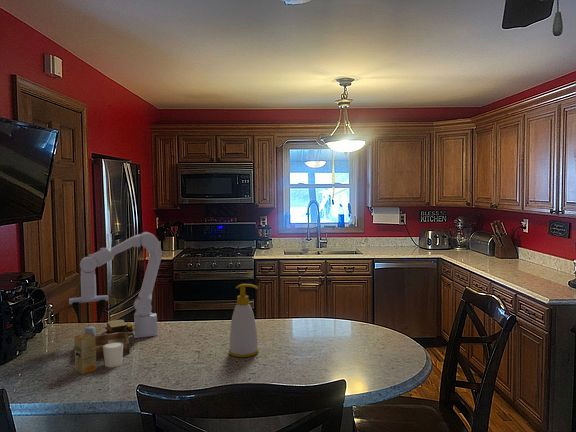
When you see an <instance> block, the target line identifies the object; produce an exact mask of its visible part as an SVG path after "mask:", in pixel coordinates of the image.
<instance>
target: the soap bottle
mask: <svg viewBox="0 0 576 432" xmlns="http://www.w3.org/2000/svg"><path fill="white" fill-rule="evenodd" d="M246 287H247V288H248V287H250V288H254V289H255V290H258V289H259V287H258V286H257V285H256V284H253V283H240V284H238V285H237V286H235V289H239V295H237V297H236V298H237V299H236V305H235V307H234V309H233V312H232V317H231V323H230V324H231V325H230V330H229V331H230V333H229V350H228V354H229V355H230V356H232V357H236V358H249V357H252V356H255V355H257V354H258V353H259V348H258V334H257V325H256V319H255V315H254V311H253V309H252V305H250V300H249V295H247V294H246Z"/></svg>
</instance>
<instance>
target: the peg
mask: <svg viewBox="0 0 576 432" xmlns="http://www.w3.org/2000/svg"><path fill="white" fill-rule="evenodd" d="M86 333H90V334H92V335H96V327H95V326H86V327H84V334H86Z"/></svg>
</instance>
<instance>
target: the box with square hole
mask: <svg viewBox="0 0 576 432" xmlns="http://www.w3.org/2000/svg"><path fill="white" fill-rule="evenodd" d="M95 341H96V359H101V358H104V353H103V346H104V345H105V344H108V343H113V342H120V343H123V356H124V355H130V353H131V351H130V340H129V335H127V332H120V333H111V334H104V333H103V334H97V335H96V334H95Z"/></svg>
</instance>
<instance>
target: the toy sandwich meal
mask: <svg viewBox="0 0 576 432" xmlns="http://www.w3.org/2000/svg"><path fill="white" fill-rule="evenodd" d="M105 330H106V331H104V333H103V334H111V333H120V332H127V335H128V336H131V335H132V334H133V332H135V329H134V326H133V325H132V324H131V323H130V322H129V321H127V322H125V320H124V319H115V320H110V321H107V322H106V326H105Z"/></svg>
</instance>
